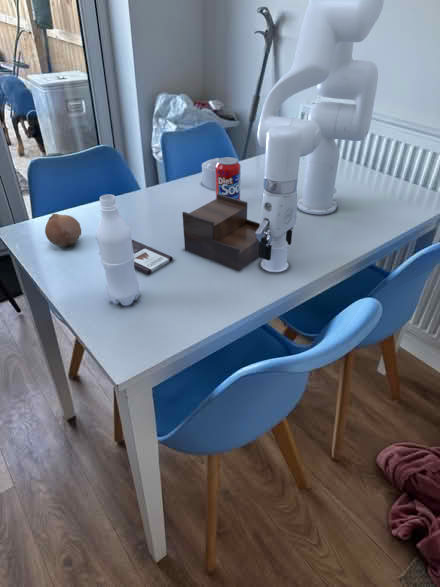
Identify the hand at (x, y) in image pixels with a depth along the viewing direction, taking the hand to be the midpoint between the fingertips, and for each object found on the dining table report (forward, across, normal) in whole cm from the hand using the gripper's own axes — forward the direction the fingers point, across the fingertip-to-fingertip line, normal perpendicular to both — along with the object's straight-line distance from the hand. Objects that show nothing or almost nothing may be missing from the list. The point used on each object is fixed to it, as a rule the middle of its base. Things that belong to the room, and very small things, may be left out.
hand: (274, 250), depth 106 cm
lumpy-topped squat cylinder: (+4, +36, +45) cm, 58 cm away
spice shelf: (+5, 0, +15) cm, 16 cm away
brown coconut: (+5, -24, +53) cm, 59 cm away
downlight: (+5, 0, 0) cm, 5 cm away
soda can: (+4, +24, +32) cm, 40 cm away
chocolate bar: (+5, -18, +32) cm, 37 cm away
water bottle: (+5, -32, +20) cm, 39 cm away
